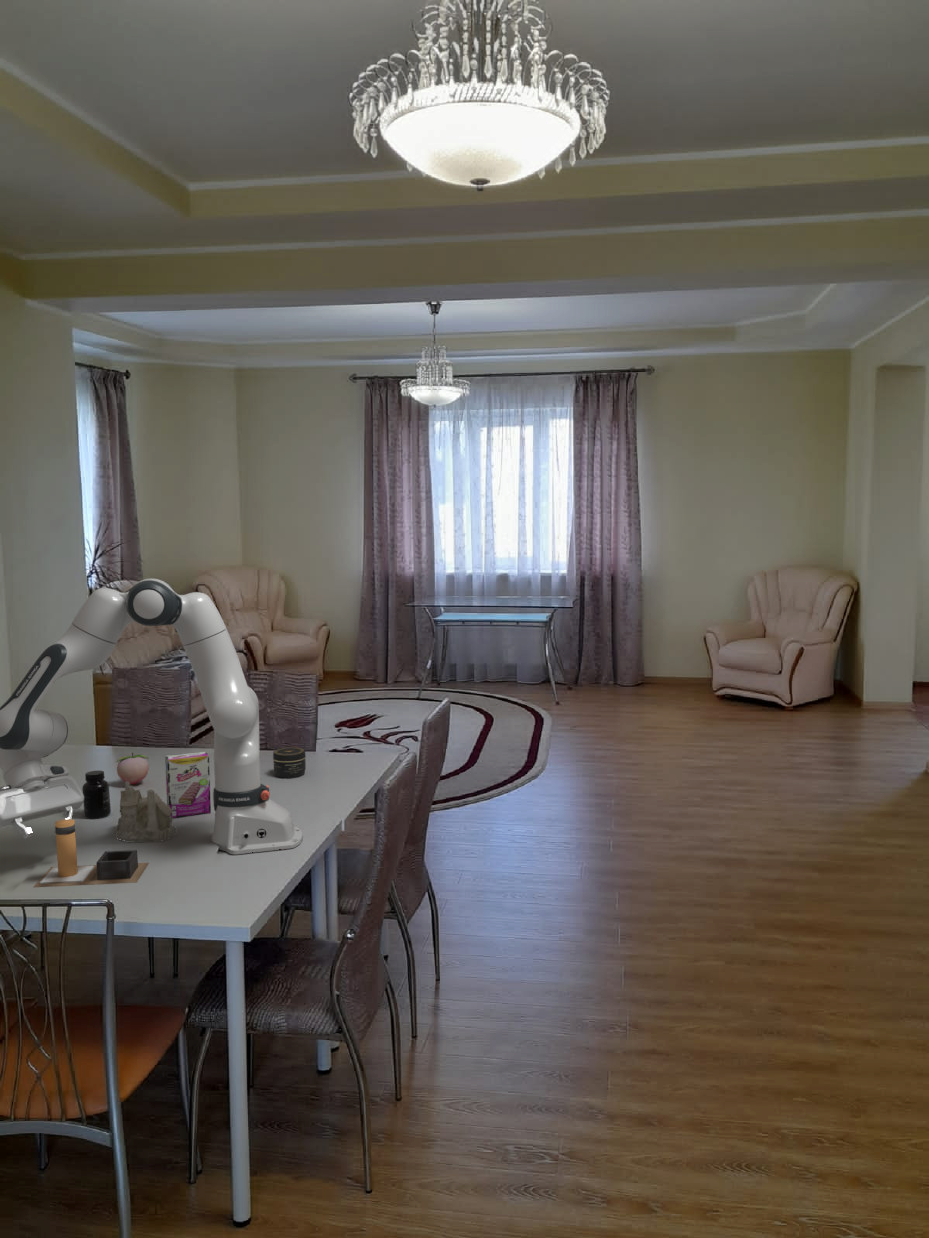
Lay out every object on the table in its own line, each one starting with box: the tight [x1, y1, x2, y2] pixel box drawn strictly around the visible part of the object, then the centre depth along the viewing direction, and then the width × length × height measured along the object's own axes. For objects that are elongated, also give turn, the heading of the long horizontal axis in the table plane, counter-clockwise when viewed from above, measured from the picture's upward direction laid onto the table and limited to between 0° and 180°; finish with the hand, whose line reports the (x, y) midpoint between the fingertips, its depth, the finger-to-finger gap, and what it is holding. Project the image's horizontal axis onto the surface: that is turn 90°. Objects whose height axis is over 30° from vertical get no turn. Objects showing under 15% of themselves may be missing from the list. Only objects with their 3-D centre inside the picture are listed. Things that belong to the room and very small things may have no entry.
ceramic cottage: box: [115, 782, 178, 842], centre depth 252 cm, size 16×16×15 cm
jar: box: [272, 746, 307, 780], centre depth 304 cm, size 10×10×8 cm
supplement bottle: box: [81, 770, 112, 820], centre depth 266 cm, size 7×7×12 cm
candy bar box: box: [164, 751, 212, 819], centre depth 266 cm, size 11×5×16 cm, turn 115°
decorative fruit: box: [116, 752, 150, 786], centre depth 295 cm, size 9×8×10 cm
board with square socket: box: [33, 849, 150, 888], centre depth 219 cm, size 22×12×6 cm, turn 95°
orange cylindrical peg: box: [54, 818, 78, 877], centre depth 218 cm, size 4×4×12 cm
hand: (49, 831), depth 222 cm, fingers open, 8 cm apart
